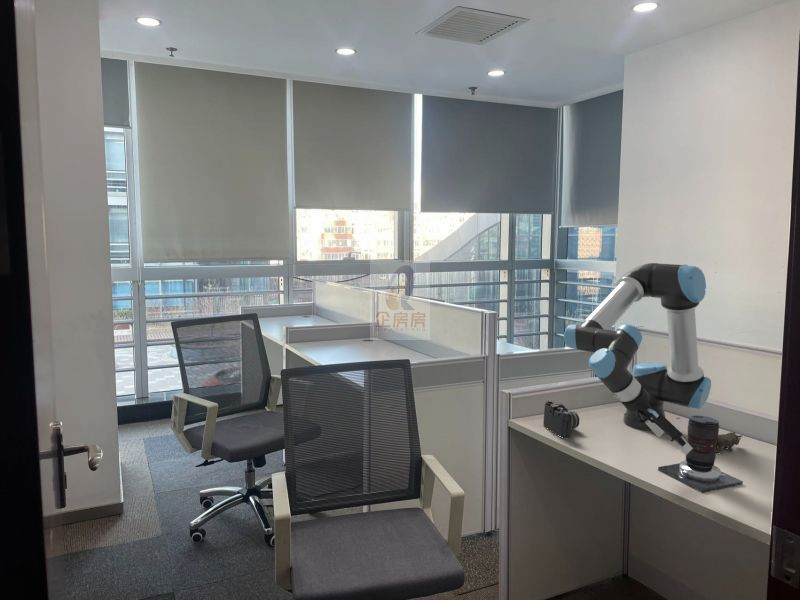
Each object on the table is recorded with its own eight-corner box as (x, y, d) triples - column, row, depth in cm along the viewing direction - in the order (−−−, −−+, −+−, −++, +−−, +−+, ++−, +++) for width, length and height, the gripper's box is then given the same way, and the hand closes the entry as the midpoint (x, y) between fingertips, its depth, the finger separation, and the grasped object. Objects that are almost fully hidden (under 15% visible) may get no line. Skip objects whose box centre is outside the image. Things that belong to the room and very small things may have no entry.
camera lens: (721, 472, 172) (726, 422, 170) (697, 474, 170) (702, 424, 168) (701, 460, 179) (705, 413, 177) (678, 462, 177) (682, 415, 175)
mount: (696, 463, 185) (697, 454, 185) (742, 484, 170) (743, 474, 170) (657, 470, 179) (658, 460, 179) (702, 492, 164) (703, 482, 164)
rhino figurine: (746, 448, 199) (748, 431, 198) (720, 455, 192) (722, 437, 192) (734, 444, 202) (736, 427, 202) (709, 450, 196) (710, 433, 195)
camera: (588, 436, 206) (590, 409, 205) (561, 439, 203) (563, 412, 202) (565, 423, 220) (566, 397, 219) (539, 425, 217) (541, 399, 215)
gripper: (601, 390, 180) (642, 435, 184) (644, 416, 156) (691, 468, 160) (618, 373, 180) (659, 419, 184) (664, 397, 156) (711, 449, 160)
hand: (674, 442), depth 172 cm, fingers open, 13 cm apart
